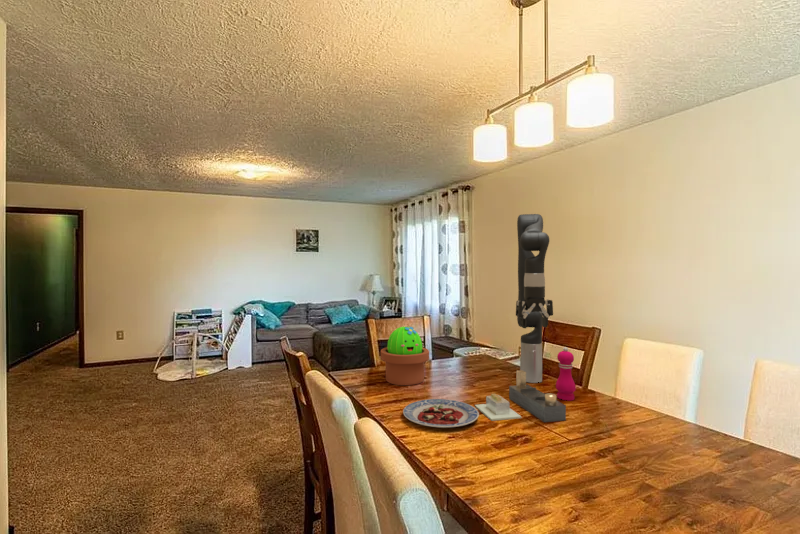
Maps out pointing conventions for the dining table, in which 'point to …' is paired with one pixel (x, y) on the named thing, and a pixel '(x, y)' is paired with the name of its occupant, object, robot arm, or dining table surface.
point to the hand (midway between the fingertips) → (534, 327)
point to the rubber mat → (493, 416)
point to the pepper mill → (565, 376)
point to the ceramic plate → (440, 413)
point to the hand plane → (536, 400)
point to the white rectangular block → (497, 404)
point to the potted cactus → (404, 357)
